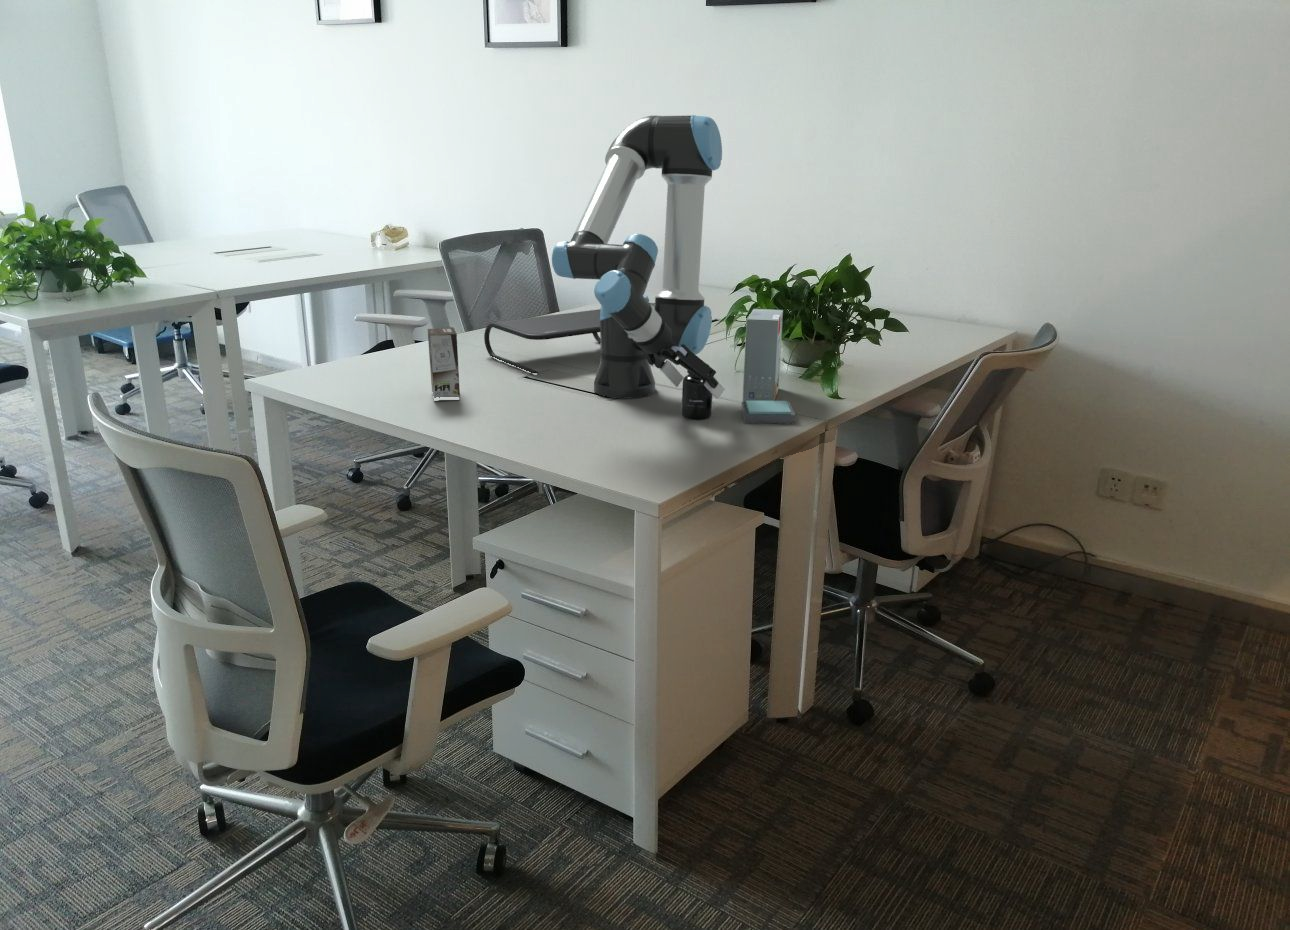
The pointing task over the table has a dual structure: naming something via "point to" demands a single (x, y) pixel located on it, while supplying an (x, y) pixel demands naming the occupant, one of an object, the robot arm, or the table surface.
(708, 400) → the supplement bottle
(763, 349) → the hard drive box
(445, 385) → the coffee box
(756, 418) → the scale base
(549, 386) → the table surface
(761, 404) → the scale plate
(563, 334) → the monitor stand
